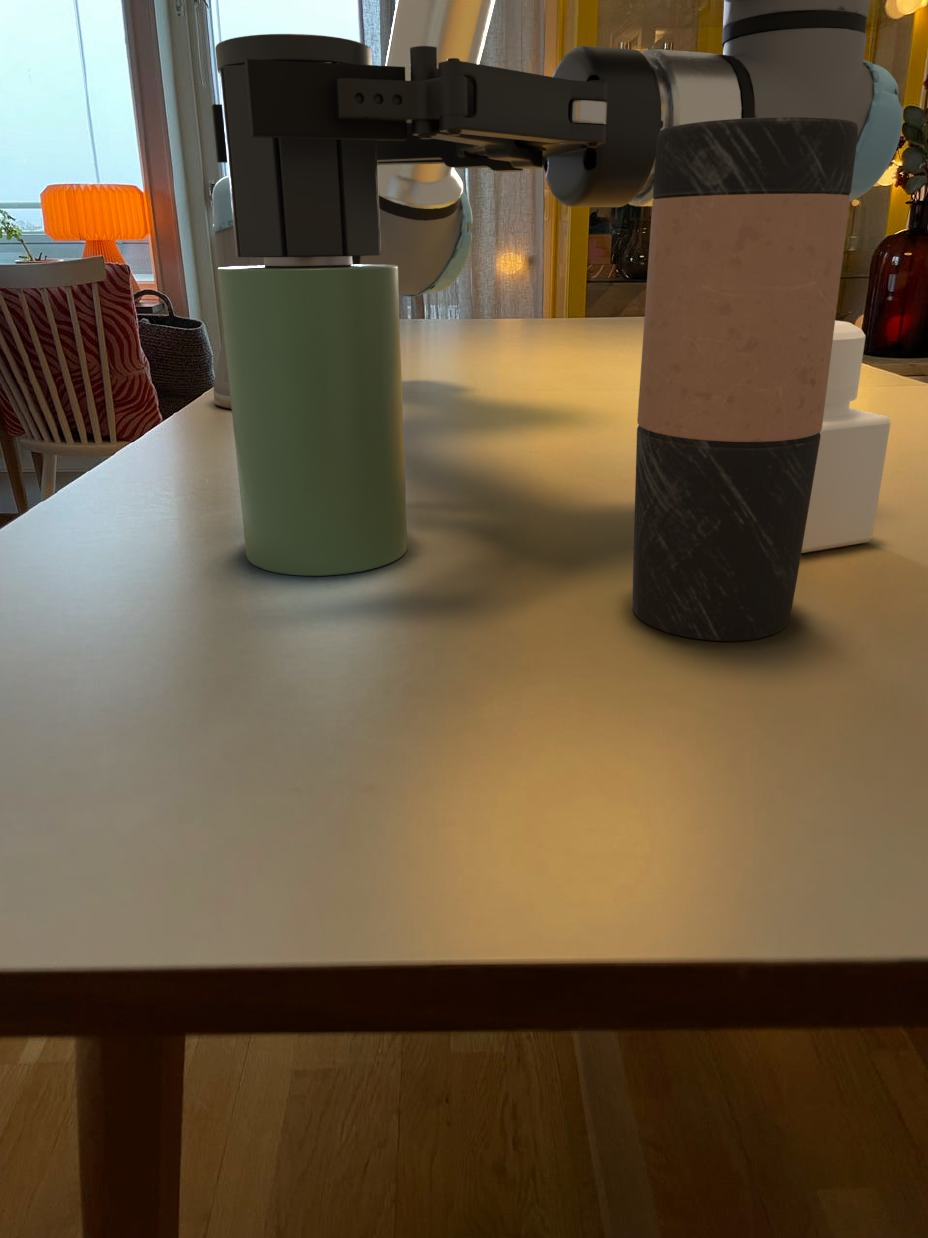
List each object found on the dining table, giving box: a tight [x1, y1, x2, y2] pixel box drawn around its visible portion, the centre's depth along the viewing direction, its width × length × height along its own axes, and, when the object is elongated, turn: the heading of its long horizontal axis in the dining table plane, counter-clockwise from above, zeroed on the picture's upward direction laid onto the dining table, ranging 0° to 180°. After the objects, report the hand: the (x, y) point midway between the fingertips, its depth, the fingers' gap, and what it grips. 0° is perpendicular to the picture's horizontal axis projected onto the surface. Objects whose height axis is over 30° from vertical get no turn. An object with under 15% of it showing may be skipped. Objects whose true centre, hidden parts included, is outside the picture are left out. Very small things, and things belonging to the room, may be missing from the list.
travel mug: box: [632, 117, 858, 642], centre depth 40 cm, size 8×8×20 cm
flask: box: [217, 256, 408, 577], centre depth 48 cm, size 9×9×24 cm
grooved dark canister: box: [214, 33, 381, 257], centre depth 45 cm, size 7×7×9 cm
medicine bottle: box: [801, 319, 892, 554], centre depth 52 cm, size 7×7×12 cm
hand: (228, 118), depth 44 cm, fingers open, 13 cm apart
